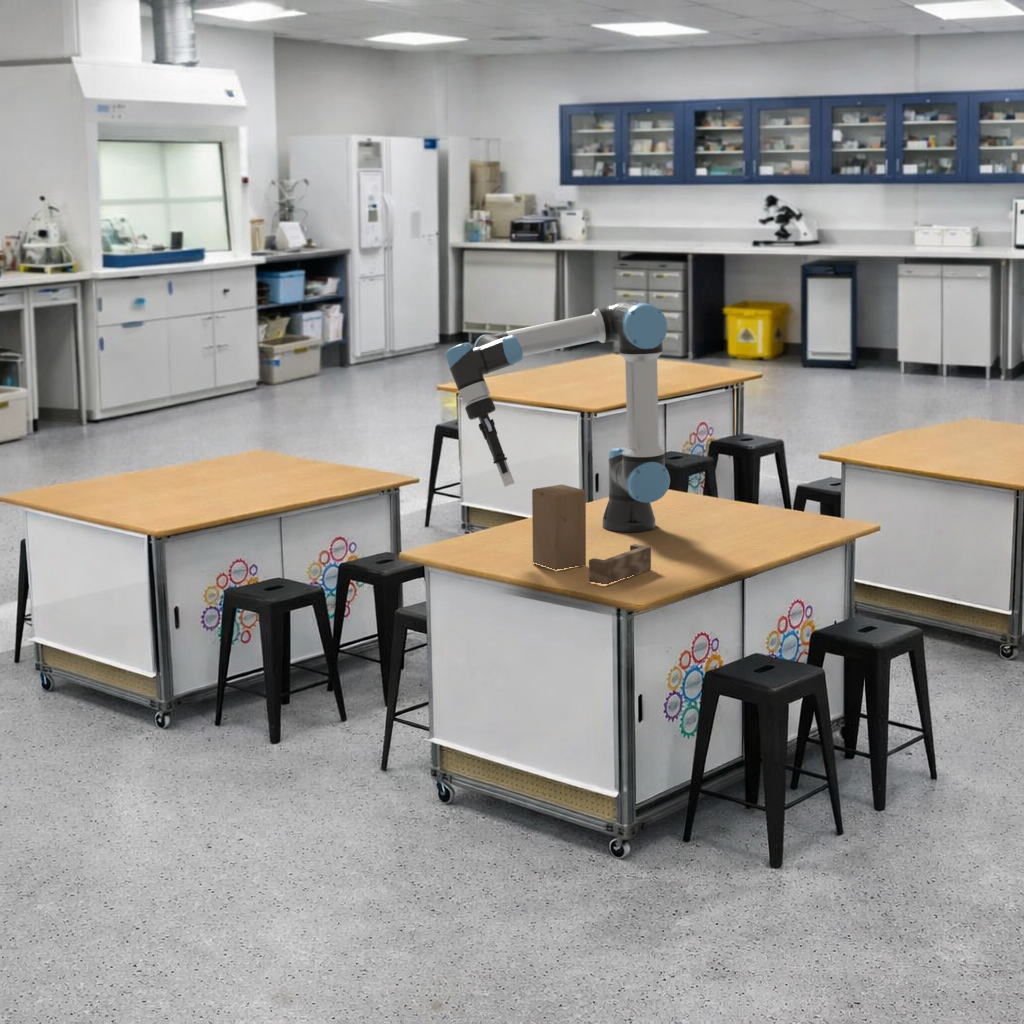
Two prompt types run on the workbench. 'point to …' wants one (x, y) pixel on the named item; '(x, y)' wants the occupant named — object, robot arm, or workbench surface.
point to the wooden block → (559, 526)
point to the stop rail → (620, 565)
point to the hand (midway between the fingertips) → (509, 484)
